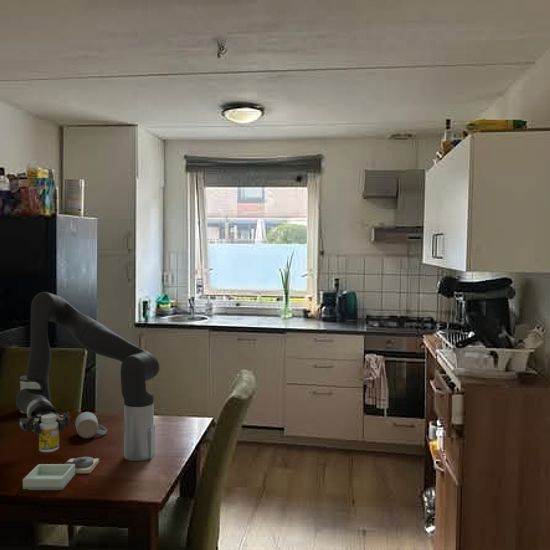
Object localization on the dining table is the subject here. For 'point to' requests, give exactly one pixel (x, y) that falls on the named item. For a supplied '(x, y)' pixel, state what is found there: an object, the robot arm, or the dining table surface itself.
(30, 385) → the coffee can
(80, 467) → the beige board with disc
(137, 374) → the robot arm
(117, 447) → the dining table surface
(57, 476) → the tray
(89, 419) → the ceramic mug
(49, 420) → the supplement bottle
